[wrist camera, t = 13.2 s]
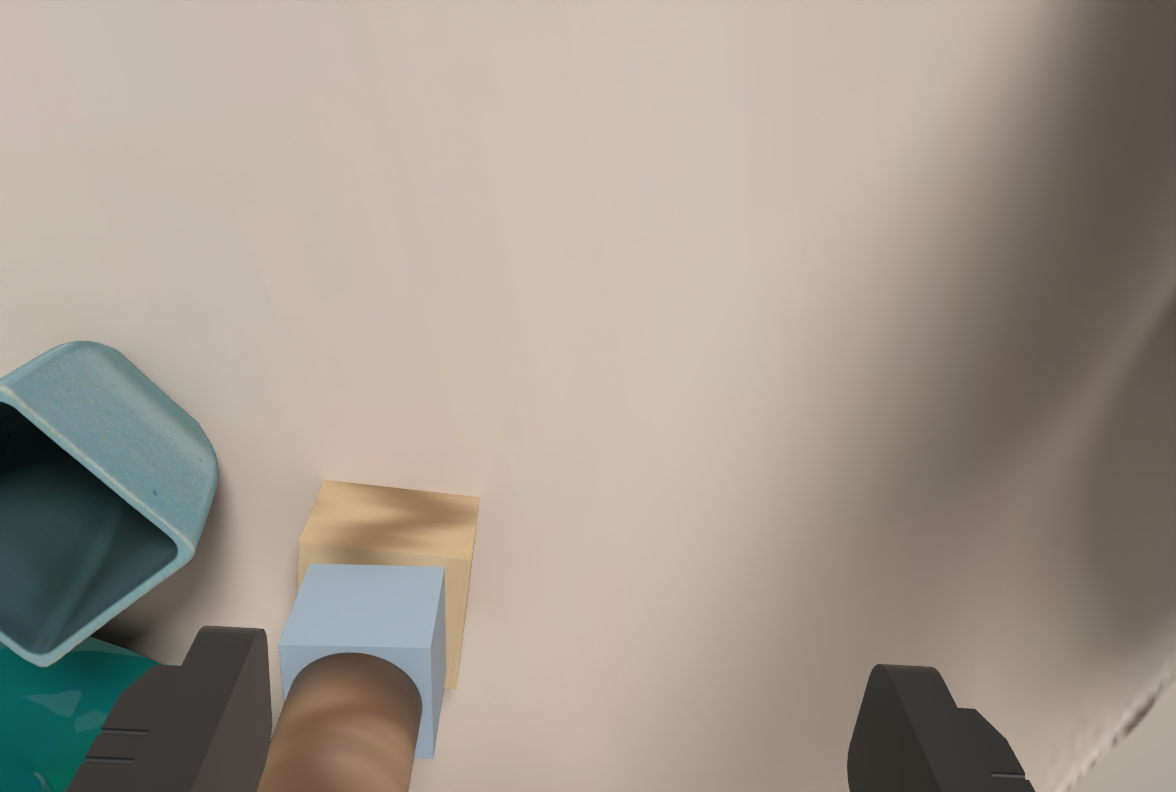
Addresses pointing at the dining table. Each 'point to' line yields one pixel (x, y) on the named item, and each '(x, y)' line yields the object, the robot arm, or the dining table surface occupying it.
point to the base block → (397, 541)
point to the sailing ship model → (58, 711)
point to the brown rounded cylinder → (345, 728)
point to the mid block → (374, 627)
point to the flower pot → (91, 495)
